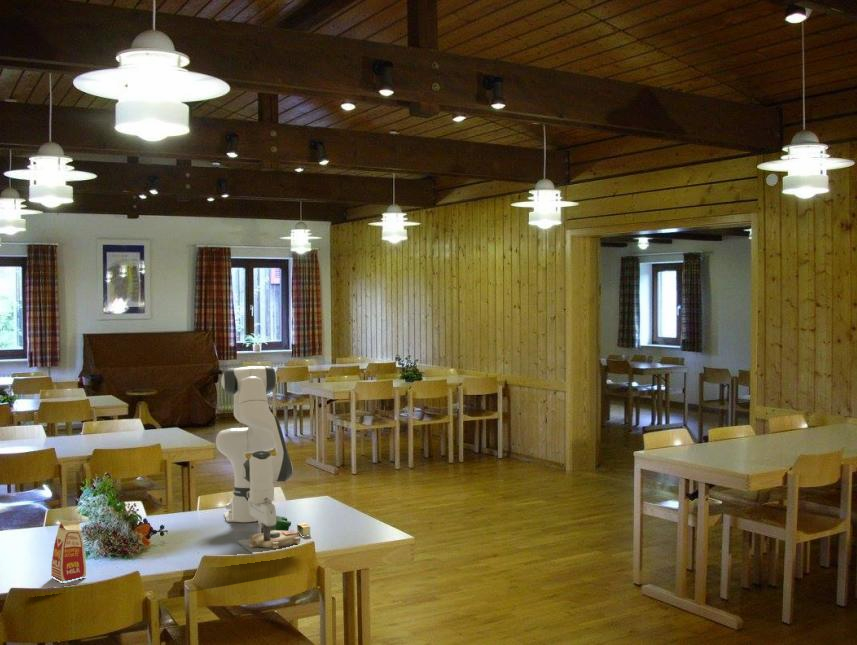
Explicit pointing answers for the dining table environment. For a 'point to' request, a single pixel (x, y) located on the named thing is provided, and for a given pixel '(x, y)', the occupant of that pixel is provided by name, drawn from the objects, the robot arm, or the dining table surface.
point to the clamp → (281, 524)
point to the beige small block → (303, 529)
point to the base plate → (246, 544)
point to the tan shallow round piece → (274, 538)
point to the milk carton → (68, 552)
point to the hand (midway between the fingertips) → (262, 532)
